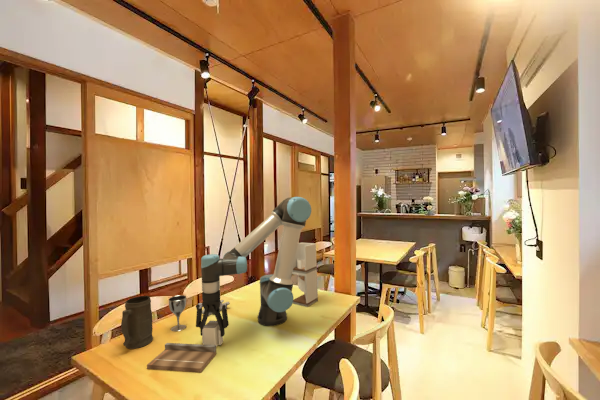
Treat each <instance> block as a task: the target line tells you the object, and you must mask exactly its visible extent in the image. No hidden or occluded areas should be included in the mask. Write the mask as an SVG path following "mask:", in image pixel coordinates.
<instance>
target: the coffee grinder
mask: <svg viewBox="0 0 600 400" xmlns="http://www.w3.org/2000/svg"><path fill="white" fill-rule="evenodd" d="M317 262H318V261H317V244H316V243H314V242H299V243H298V247H297V252H296V257H295V262H294V267H293V272H292V275H297V288H298V289H299V290H300V291H301V292H302V293H303V294H301V295H300V296H298V297H296V298H293V303H292V305H293V304H294V305H297V306H301V307H306V308H308V307H310V306H312V305H314V304H315V303H317V302H319V297H318V295H319V294H318V269H317V268H318V267H317V265H318V264H317Z"/></svg>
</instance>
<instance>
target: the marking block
mask: <svg viewBox="0 0 600 400" xmlns="http://www.w3.org/2000/svg"><path fill="white" fill-rule="evenodd" d="M219 329H220V327H219V325H218V322H217V320H209V321H208V322H206V324H205V326H204V344H203V345H216V348H217V347H218V346H219V336H218V330H219Z"/></svg>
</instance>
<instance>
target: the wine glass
mask: <svg viewBox="0 0 600 400" xmlns="http://www.w3.org/2000/svg"><path fill="white" fill-rule="evenodd" d="M186 305H187V296H186V295H184V294H183V295H182V294H179V295H178V294H177V295H173V296H172V297H169V298H168V306H169V311H170V312H171V313H173V315H174V316H175V317H176V322H177V325H175V326H172V327H171V328H170V331H171V332H180V331H183V330H185V329H186V328H187V325H185V324H180V316H181V315H182V313H183V312H184V311H185V309H186Z"/></svg>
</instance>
